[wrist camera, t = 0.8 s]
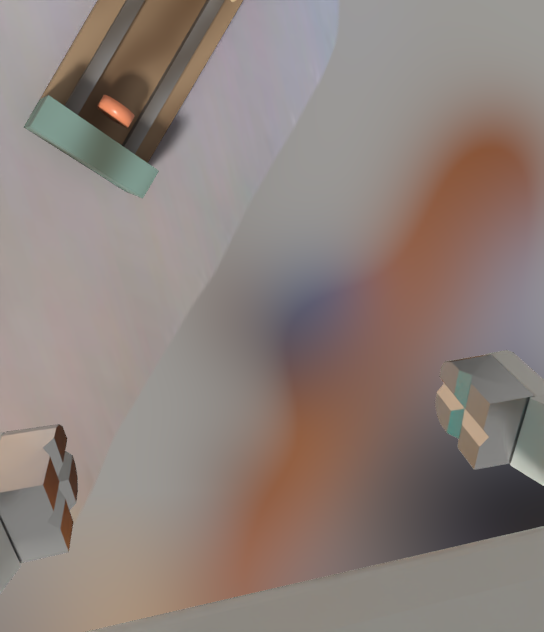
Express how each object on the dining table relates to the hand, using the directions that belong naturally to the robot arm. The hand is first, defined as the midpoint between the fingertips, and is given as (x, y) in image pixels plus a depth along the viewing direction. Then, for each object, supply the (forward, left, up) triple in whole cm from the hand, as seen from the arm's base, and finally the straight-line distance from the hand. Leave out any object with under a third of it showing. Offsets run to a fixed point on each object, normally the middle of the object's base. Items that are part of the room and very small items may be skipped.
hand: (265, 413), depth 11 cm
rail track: (0, +18, -37) cm, 42 cm away
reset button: (0, +9, -35) cm, 36 cm away
